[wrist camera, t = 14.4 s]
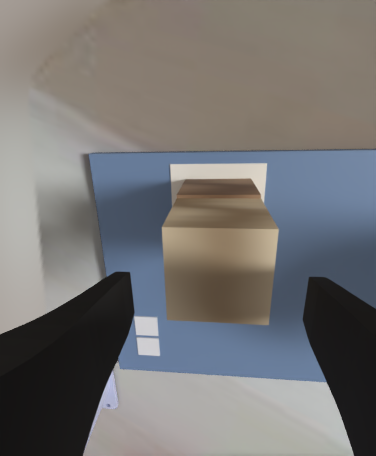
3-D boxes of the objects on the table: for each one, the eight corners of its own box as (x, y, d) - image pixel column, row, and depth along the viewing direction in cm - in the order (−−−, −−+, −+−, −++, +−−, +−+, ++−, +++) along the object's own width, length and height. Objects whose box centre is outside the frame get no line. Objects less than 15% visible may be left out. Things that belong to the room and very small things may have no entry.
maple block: (179, 270, 17) (167, 320, 12) (177, 197, 15) (161, 227, 11) (255, 272, 16) (268, 325, 12) (261, 198, 15) (278, 229, 10)
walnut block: (187, 238, 21) (180, 268, 17) (185, 179, 19) (176, 195, 15) (248, 239, 20) (256, 269, 16) (251, 178, 19) (261, 194, 15)
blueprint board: (122, 362, 27) (119, 369, 26) (93, 152, 20) (88, 154, 19) (381, 378, 25) (387, 387, 24) (452, 147, 18) (464, 149, 17)
